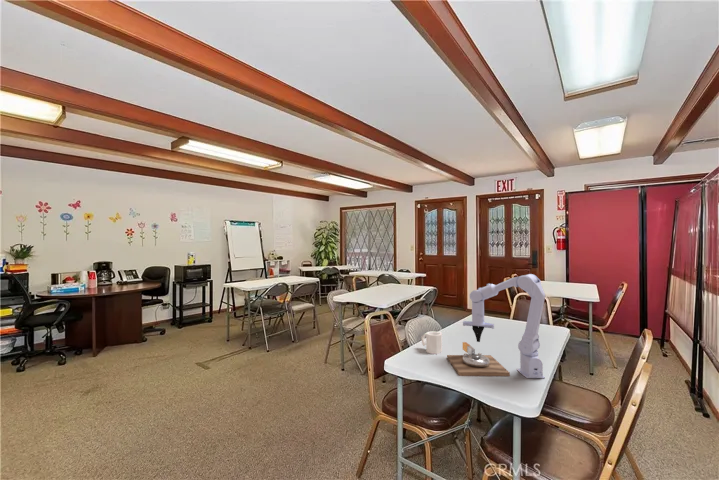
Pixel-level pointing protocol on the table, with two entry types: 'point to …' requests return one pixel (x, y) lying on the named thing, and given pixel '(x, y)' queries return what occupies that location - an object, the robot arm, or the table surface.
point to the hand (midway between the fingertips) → (478, 341)
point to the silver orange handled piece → (474, 357)
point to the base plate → (467, 370)
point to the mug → (432, 342)
